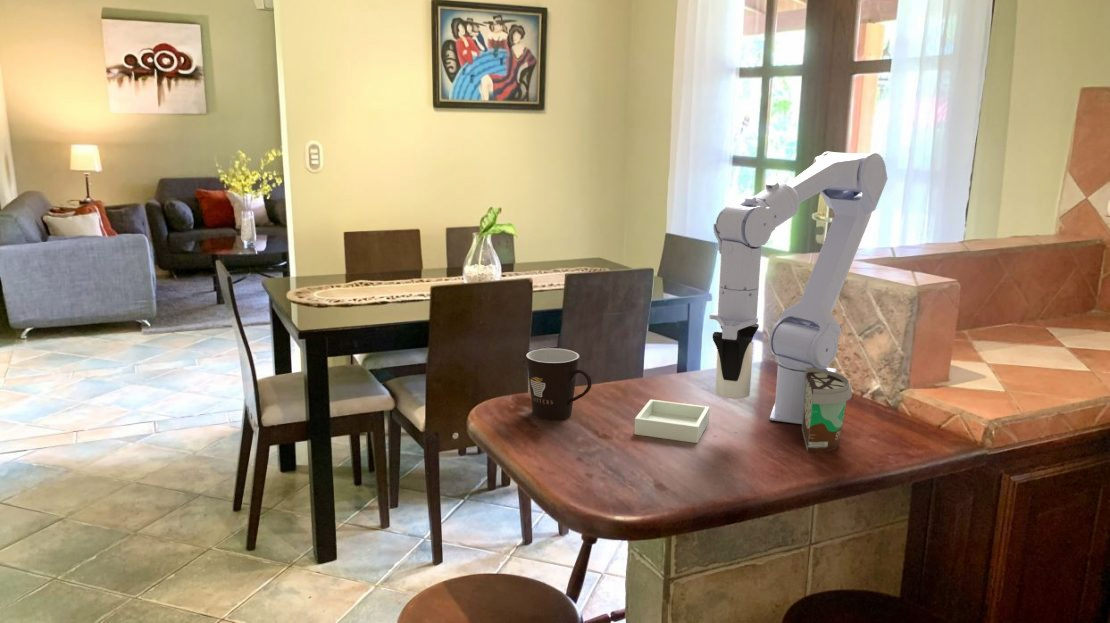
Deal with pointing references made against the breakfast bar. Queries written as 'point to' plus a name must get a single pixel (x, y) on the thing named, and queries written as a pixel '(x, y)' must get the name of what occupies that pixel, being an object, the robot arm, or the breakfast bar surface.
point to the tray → (672, 420)
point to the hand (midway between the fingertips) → (733, 374)
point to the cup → (744, 381)
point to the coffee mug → (553, 382)
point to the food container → (824, 409)
